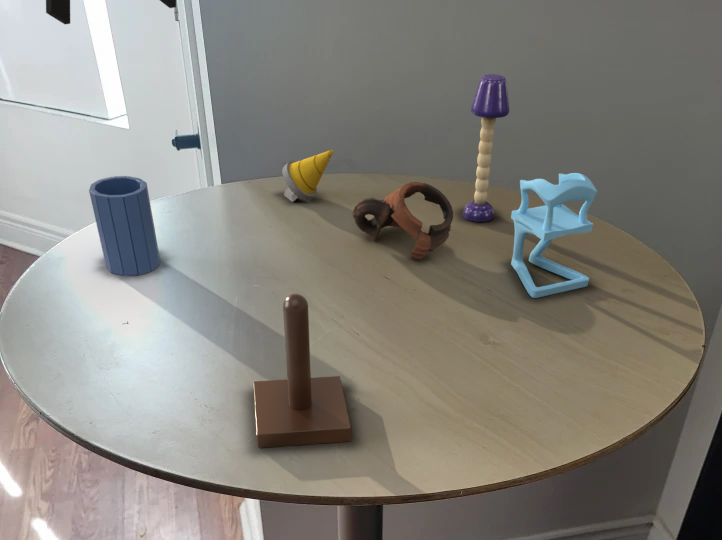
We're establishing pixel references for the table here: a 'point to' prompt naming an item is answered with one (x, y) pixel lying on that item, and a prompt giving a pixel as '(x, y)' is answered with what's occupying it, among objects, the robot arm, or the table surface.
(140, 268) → the blue fluted tube
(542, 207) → the chair
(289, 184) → the drill bit
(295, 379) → the stand
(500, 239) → the table surface
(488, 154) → the toy lamp
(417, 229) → the brown looped strap
